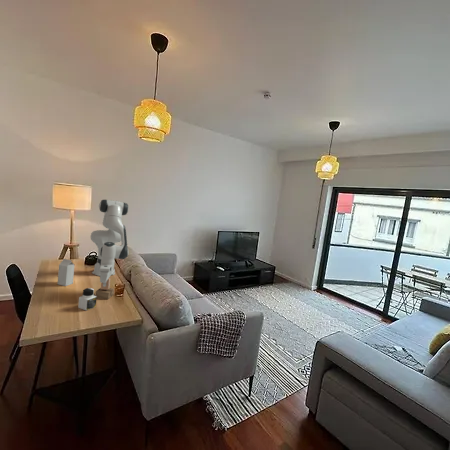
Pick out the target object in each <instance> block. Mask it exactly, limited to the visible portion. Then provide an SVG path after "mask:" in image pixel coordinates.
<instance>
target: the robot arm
mask: <svg viewBox="0 0 450 450" xmlns="http://www.w3.org/2000/svg"><path fill="white" fill-rule="evenodd" d="M98 208H99V211H100V212H101V213H104V215H103V219H102V225H103V227H104V228H106V230H105V229H103V230H102V229H98V230H93V231H92V232H91V233H90V240H91V242H93V243H94V244H95V245H96V246H97V252H98V253H97V257H96V258H97V259H96V263H95V264H94V269H93V271H91V274H93V275H95V276H98V277H99V283H103V286H104V287H105V286H106V282H107V280H108V279H109V277H110V278H111V276H114V275H116V272H115V271H116V269H115V262H116V261H115V259H117V260H125V259H126V258H128V256H129V247H128V240H127V239H128V238H127V229H126V226H125V225H124V224H123V221H122V220H123V219H122V217H123V216H126V215H128V213H129V209H130V208H129V204H128V203H126V202H122V201H119V200H112V199H102V200H100V202H99V205H98ZM116 243H117V244H118V243H121V245H116Z"/></svg>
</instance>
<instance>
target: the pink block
mask: <svg viewBox="0 0 450 450" xmlns="http://www.w3.org/2000/svg"><path fill="white" fill-rule="evenodd" d="M100 283H101V282H100ZM100 288H101V289H106V290H108V289H109V288H111V276H110V277H109V279H108V280H107V282H106V286H105V287H104V286H103V283H101V284H100Z"/></svg>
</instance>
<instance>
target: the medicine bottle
mask: <svg viewBox="0 0 450 450" xmlns="http://www.w3.org/2000/svg"><path fill="white" fill-rule="evenodd" d="M94 293H95V289H94V288H92V287H87V288H84V289H83V290H82V295H81V296H79V297H78V307H77V308H78V309H80V310H84V311H89V310H91V309H94V308H96V306H97V299H98V298H97V297H96V296H95V294H94Z"/></svg>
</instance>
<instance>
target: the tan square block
mask: <svg viewBox="0 0 450 450" xmlns="http://www.w3.org/2000/svg"><path fill="white" fill-rule="evenodd" d="M114 291H115V288H113V287H109V289H108V290H106V289H101V287H100V288H98V289H97V290H95V292H94V293H95V294H94V296H96V297H97V298H96V299H101V300H109V299H110V298H112V296H114V294H115V293H114Z"/></svg>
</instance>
